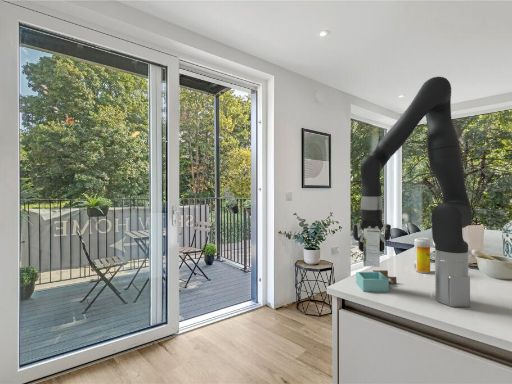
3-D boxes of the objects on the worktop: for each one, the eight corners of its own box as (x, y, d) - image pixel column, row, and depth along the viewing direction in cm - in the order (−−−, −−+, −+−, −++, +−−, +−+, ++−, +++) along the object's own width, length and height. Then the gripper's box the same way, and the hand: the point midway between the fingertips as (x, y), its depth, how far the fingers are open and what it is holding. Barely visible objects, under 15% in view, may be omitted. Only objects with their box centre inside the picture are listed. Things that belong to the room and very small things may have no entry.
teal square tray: (388, 291, 107) (388, 279, 107) (363, 291, 107) (363, 279, 107) (379, 283, 116) (379, 271, 116) (356, 283, 116) (356, 272, 116)
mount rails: (399, 285, 112) (399, 279, 112) (383, 285, 112) (383, 279, 112) (387, 276, 124) (387, 270, 124) (373, 276, 125) (372, 270, 125)
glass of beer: (433, 273, 126) (432, 239, 126) (419, 274, 126) (418, 239, 126) (425, 269, 132) (425, 237, 132) (411, 269, 132) (411, 237, 132)
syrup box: (363, 262, 115) (363, 226, 115) (379, 263, 113) (379, 226, 113) (363, 266, 110) (363, 228, 109) (380, 267, 108) (379, 228, 107)
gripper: (354, 209, 108) (355, 253, 108) (394, 208, 107) (394, 253, 107) (349, 207, 115) (349, 248, 116) (386, 207, 114) (386, 248, 115)
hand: (371, 251), depth 111 cm, fingers closed on syrup box, 6 cm apart
